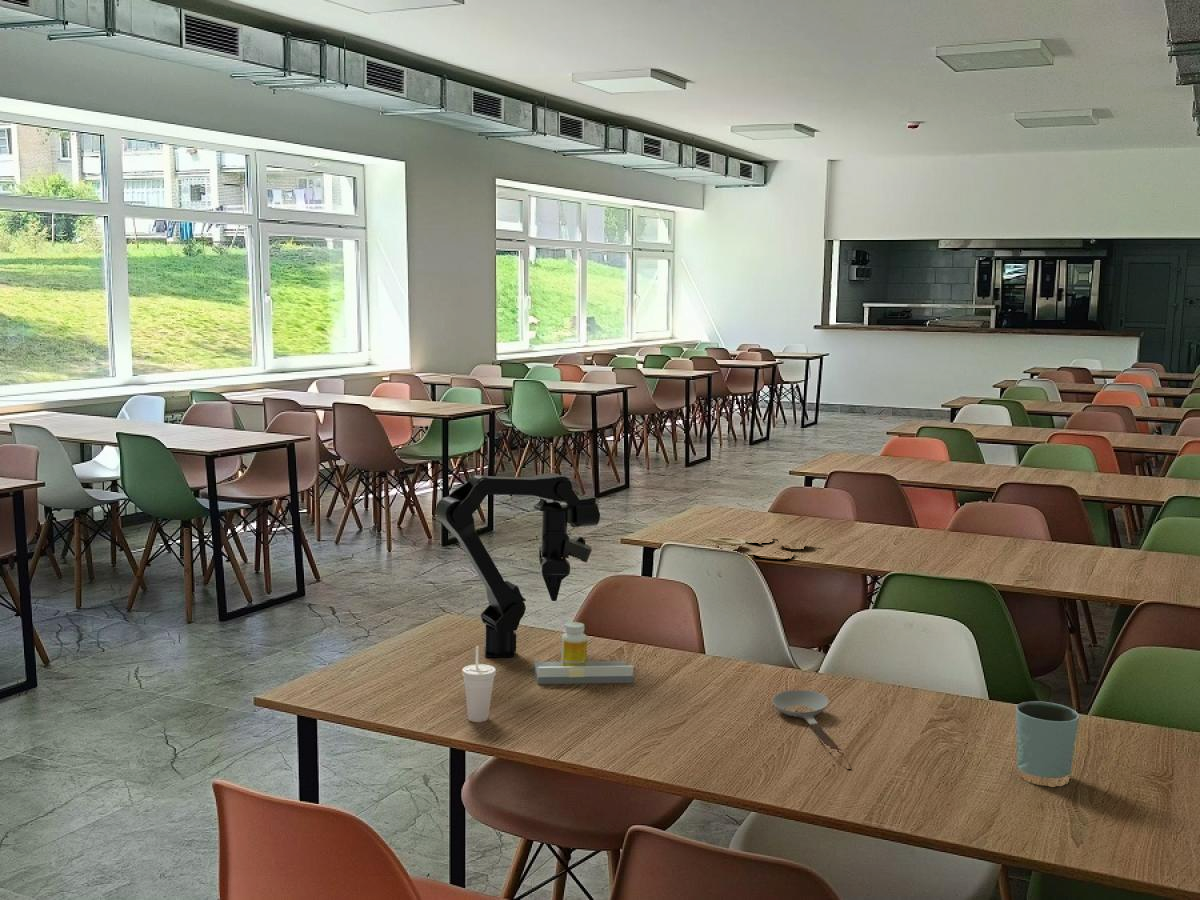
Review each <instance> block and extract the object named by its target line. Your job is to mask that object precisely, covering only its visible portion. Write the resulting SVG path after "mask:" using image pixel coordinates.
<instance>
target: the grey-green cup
mask: <svg viewBox="0 0 1200 900" xmlns="http://www.w3.org/2000/svg"><path fill="white" fill-rule="evenodd" d="M1015 722H1016V723H1015V724H1016V725H1015V726H1016V734H1017V736H1016V751H1017V757H1016V766H1017V765H1018V768H1019V769H1020V770H1022V771H1023V772H1025V773H1028V774H1031V775H1035V776H1040V777H1046V778H1062V777H1065V776H1067V775H1070V773H1071V774H1072V765H1073V763H1072V762H1073V760H1074V752H1075V748H1076V747H1075V746H1074V744H1075V742H1076V739H1077V734H1078V728H1079V723H1080V714H1079V713H1078V711H1076V710H1075V709H1074V708H1071V707H1069V706H1066V705H1063V704H1058V703H1055V702H1049V701H1048V702H1047V701H1038V700H1033V701H1032V700H1031V701H1023V702H1021V703H1018V704H1017V705H1016V706H1015ZM1070 776H1071V775H1070Z"/></svg>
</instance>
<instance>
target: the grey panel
mask: <svg viewBox="0 0 1200 900" xmlns="http://www.w3.org/2000/svg"><path fill="white" fill-rule="evenodd" d="M533 665H534V666H533V671H534V673H535V678H536V682H537V684H538V685H566V684H567V685H573V684H574V685H575V684H579V685H580V684H582V685H583V684H631V683H632V684H633V683H634V665H628V662H627V661H626V660H608V661H607V660H603V661H602V660H601V661H599V660H595V661H593V660H591V661H587V660H586V666H561V661H534V664H533Z"/></svg>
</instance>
